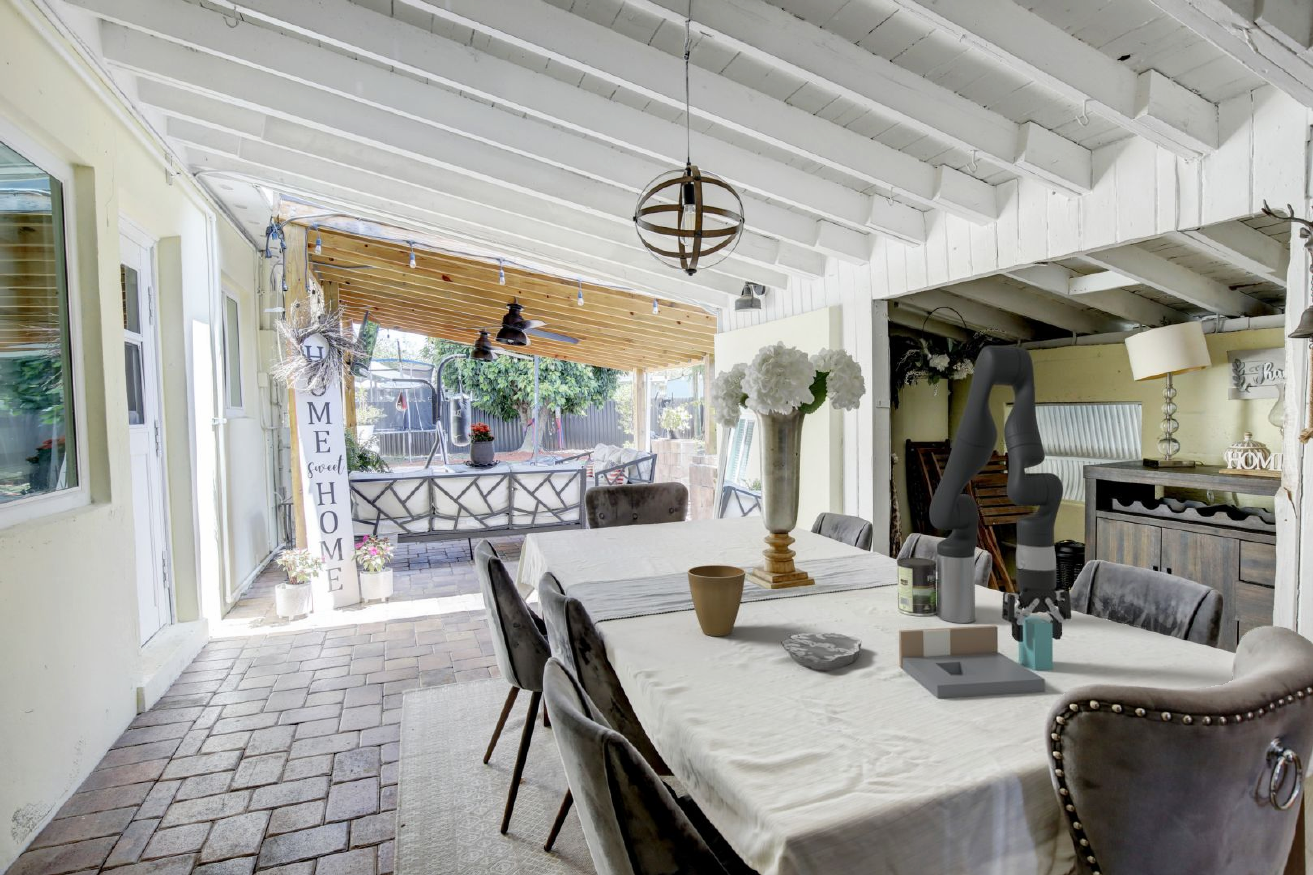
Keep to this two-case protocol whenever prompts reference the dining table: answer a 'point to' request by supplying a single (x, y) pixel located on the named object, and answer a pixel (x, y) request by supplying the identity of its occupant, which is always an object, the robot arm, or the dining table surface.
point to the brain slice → (822, 650)
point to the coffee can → (916, 586)
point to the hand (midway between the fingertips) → (1036, 639)
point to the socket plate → (963, 663)
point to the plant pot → (716, 596)
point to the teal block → (1036, 644)
